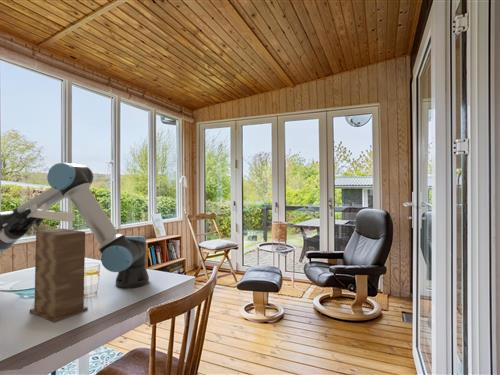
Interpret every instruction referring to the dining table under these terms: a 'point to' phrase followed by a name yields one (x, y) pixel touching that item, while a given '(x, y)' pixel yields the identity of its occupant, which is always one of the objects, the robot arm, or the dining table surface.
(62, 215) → the domino bar
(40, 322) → the dining table surface
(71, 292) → the walnut post
